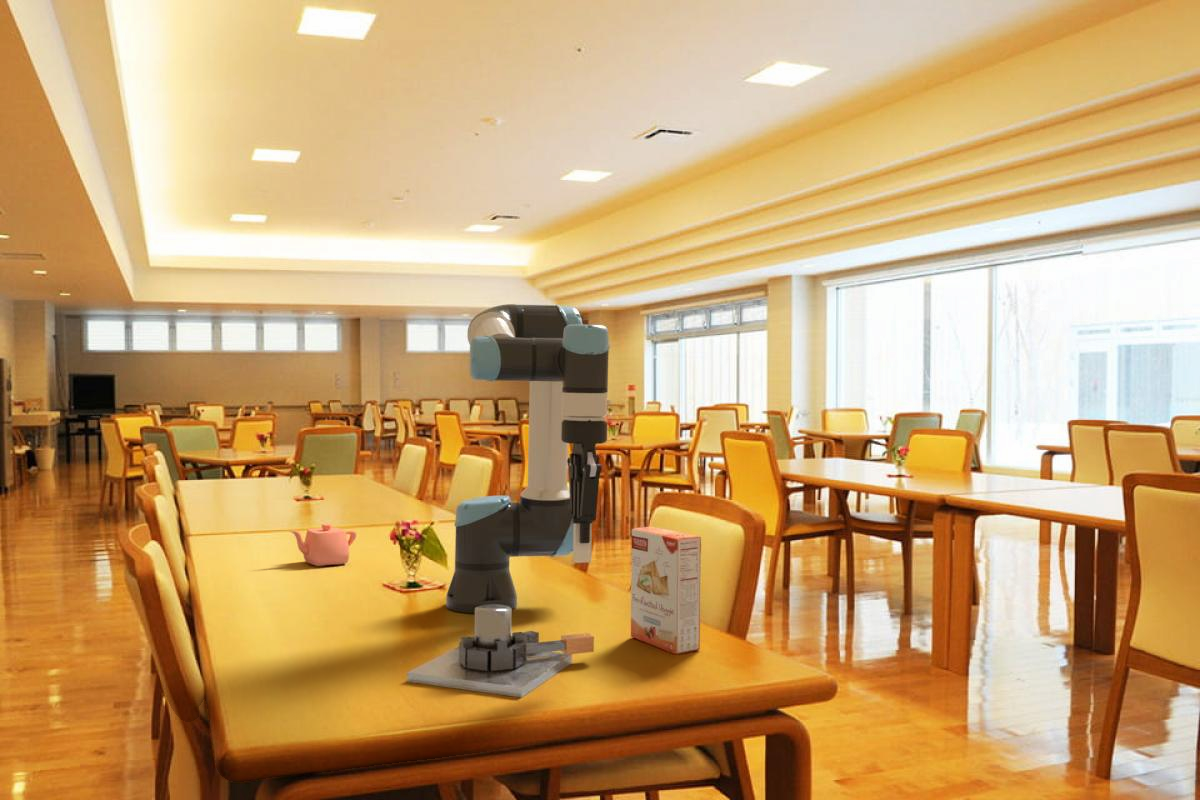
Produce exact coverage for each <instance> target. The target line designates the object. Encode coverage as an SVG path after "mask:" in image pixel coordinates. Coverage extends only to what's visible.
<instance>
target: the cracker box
mask: <svg viewBox="0 0 1200 800" xmlns="http://www.w3.org/2000/svg"><path fill="white" fill-rule="evenodd" d="M701 554H702V537H701V536H700V535H699V536H698V535H694V534H690V533H686V532H681V531H677V530H671V529H667V528H663V527H658V526H645V527H643V526H642V527H634V528H632V529H631V561H630V562H631V563H630V564H631V569H630V570H631V571H630V572H631V573H630V575H631V577H630V578H631V579H630V580H631V581H630V583H631V585H630V587H631V588H630V589H631V590H630V637H631V638H633V639H635V638H636V640H638V641H641V642H643V641H644V642H643V643H646V644H648V645H651V646H654V647H656V648H658V649H660V650H661V649H662V650H664V651H666V652H668V653H671V654H674V655H680V654H684V653H685V654H686V653H690V652H695V651H696V652H697V651H700V648H701V576H702V573H701V571H702V570H701V568H702V566H701V564H702V562H701V561H702V560H701V558H702V557H701V556H702V555H701Z"/></svg>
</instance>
